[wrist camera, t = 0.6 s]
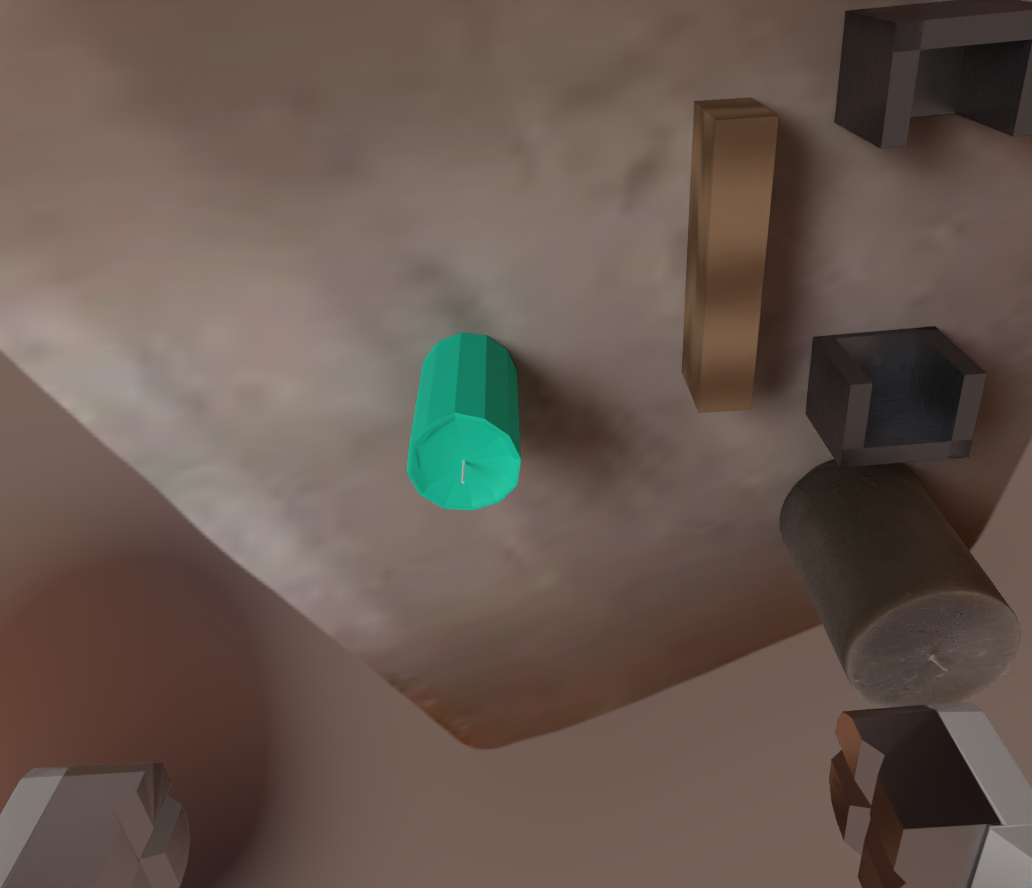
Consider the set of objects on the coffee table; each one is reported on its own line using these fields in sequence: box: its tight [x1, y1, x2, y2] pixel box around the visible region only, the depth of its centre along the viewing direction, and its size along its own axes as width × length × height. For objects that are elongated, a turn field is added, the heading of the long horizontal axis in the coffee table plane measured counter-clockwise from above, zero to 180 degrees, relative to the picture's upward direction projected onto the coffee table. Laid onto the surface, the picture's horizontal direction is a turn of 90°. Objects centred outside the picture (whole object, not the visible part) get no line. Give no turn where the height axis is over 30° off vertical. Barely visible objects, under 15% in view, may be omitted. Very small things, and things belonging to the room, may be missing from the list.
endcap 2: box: [806, 326, 987, 468], centre depth 52 cm, size 5×7×6 cm
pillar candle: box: [780, 460, 1021, 708], centre depth 54 cm, size 10×10×15 cm
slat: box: [682, 98, 779, 413], centre depth 48 cm, size 16×3×6 cm, turn 3°
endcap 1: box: [835, 0, 1032, 149], centre depth 42 cm, size 5×7×6 cm
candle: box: [407, 333, 521, 510], centre depth 49 cm, size 6×6×12 cm
